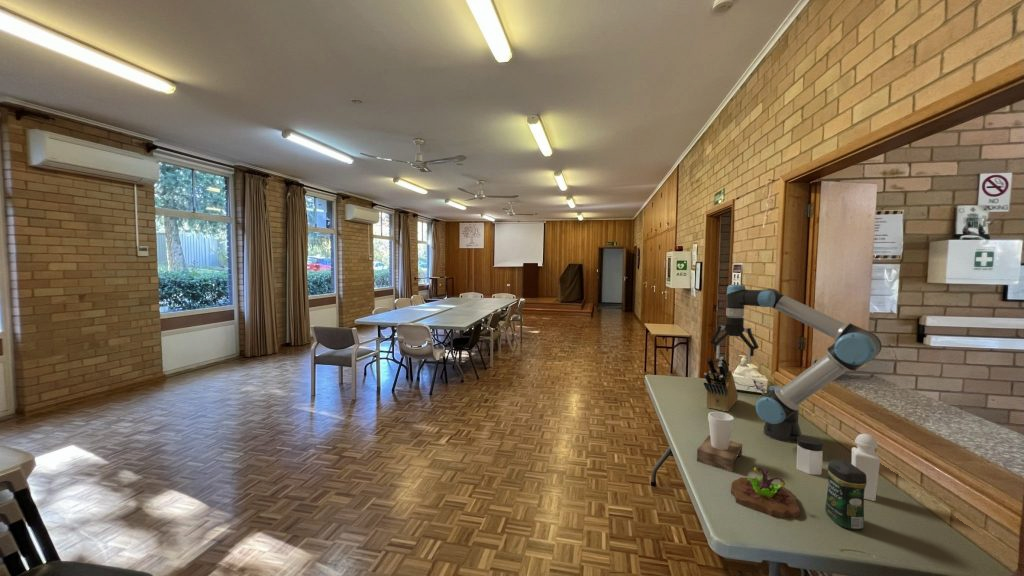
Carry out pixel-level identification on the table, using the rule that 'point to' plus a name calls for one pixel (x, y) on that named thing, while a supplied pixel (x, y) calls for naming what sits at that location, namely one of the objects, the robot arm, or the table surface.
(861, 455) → the soap dispenser
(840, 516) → the coffee jar
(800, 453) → the jar
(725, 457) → the walnut shelf stand
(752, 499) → the plant
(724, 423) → the foam cup
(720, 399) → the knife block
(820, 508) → the table surface
